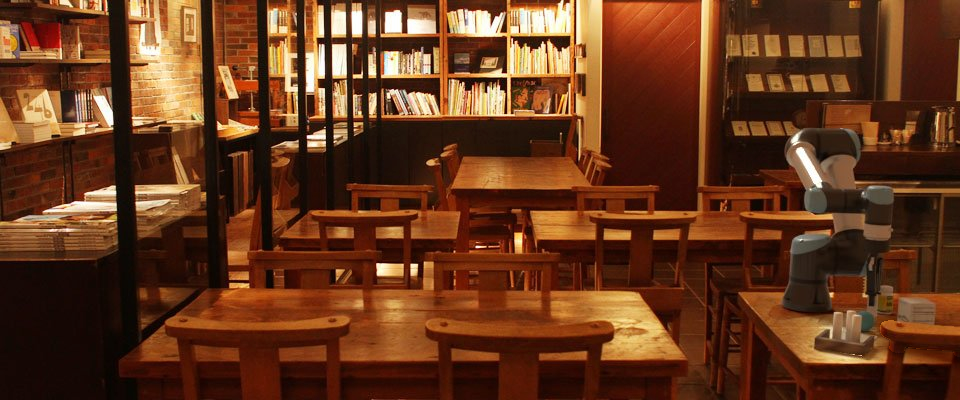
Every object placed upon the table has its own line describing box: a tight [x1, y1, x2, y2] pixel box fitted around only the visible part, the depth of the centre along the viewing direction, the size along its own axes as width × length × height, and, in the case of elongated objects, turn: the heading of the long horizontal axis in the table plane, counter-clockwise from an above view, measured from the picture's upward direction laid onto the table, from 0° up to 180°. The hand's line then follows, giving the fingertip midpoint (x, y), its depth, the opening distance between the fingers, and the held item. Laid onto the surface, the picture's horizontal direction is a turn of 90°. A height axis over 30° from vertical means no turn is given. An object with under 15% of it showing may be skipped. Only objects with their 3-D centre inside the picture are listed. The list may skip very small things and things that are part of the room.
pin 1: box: [831, 311, 844, 340], centre depth 286 cm, size 2×2×9 cm
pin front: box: [844, 310, 857, 342], centre depth 288 cm, size 2×2×9 cm
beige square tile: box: [841, 330, 879, 343], centre depth 294 cm, size 10×10×1 cm
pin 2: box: [851, 315, 862, 343], centre depth 283 cm, size 2×2×9 cm
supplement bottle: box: [877, 284, 895, 315], centre depth 325 cm, size 5×5×8 cm
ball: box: [856, 310, 876, 332], centre depth 301 cm, size 6×6×6 cm
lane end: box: [813, 328, 876, 357], centre depth 283 cm, size 13×12×3 cm
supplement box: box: [896, 296, 937, 326], centre depth 288 cm, size 7×7×13 cm
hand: (871, 316), depth 309 cm, fingers closed
